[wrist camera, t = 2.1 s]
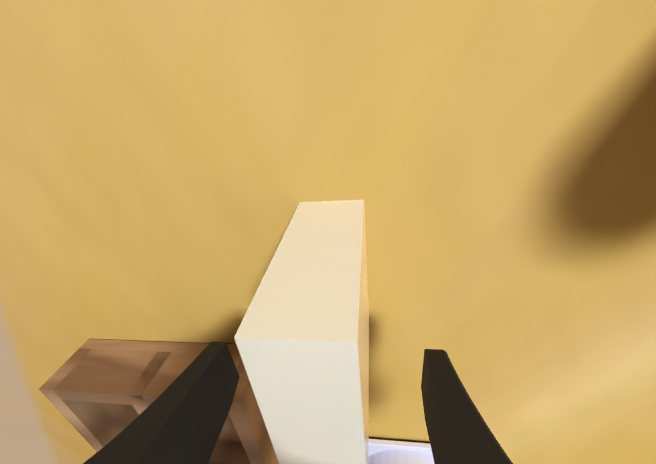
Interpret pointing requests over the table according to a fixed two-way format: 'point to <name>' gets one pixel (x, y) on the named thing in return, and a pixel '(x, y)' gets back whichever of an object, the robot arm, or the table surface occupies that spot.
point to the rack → (149, 394)
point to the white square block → (313, 338)
